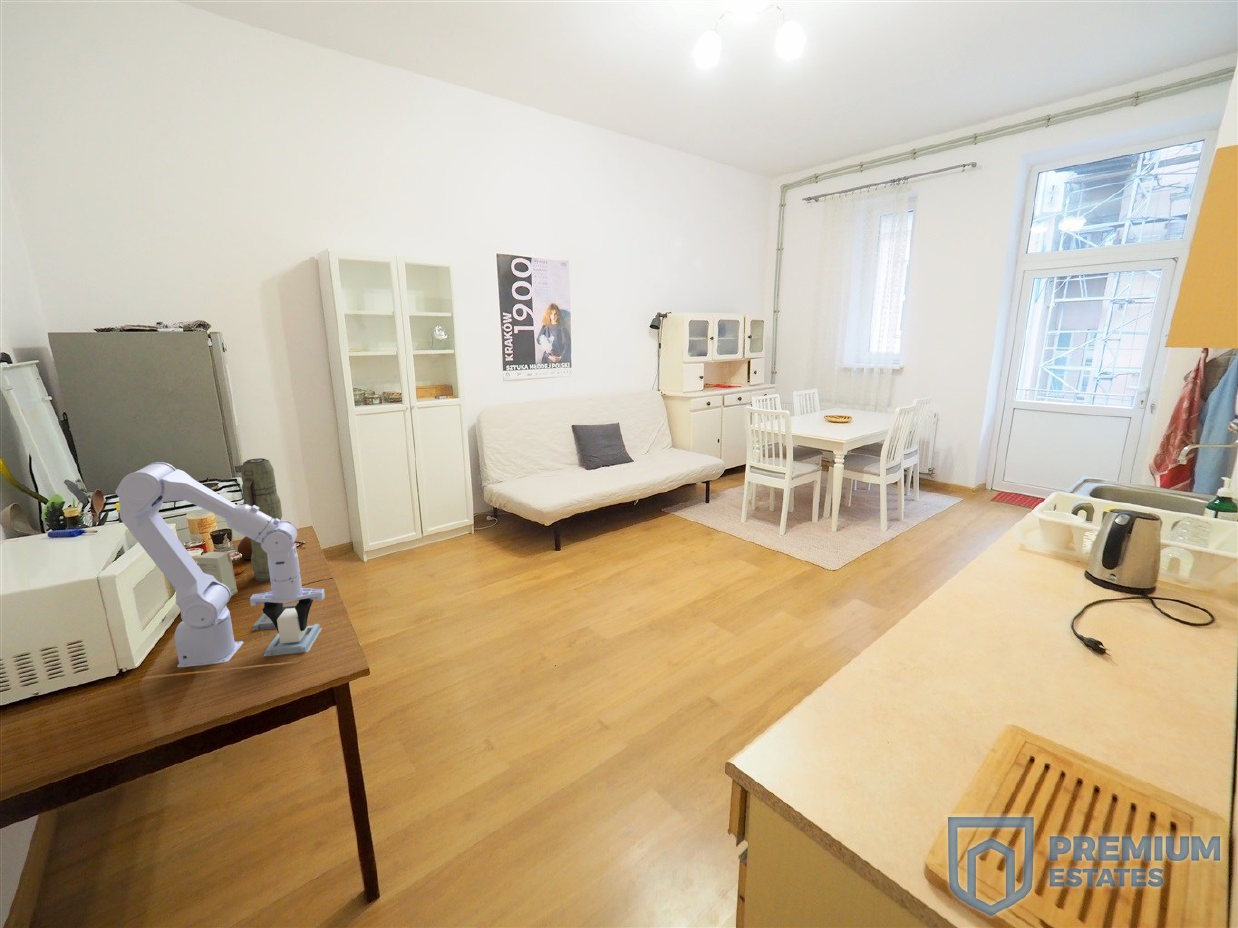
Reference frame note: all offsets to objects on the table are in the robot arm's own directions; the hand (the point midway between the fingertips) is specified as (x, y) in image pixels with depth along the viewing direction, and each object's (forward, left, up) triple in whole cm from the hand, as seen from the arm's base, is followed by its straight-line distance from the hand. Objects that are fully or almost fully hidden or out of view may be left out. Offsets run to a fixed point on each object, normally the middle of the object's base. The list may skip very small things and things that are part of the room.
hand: (292, 629), depth 120 cm
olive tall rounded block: (-19, +40, -4) cm, 44 cm away
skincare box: (-27, +28, -4) cm, 39 cm away
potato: (-29, +56, -4) cm, 63 cm away
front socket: (0, 0, -3) cm, 3 cm away
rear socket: (-7, +12, -3) cm, 14 cm away
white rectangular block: (0, 0, -2) cm, 2 cm away
